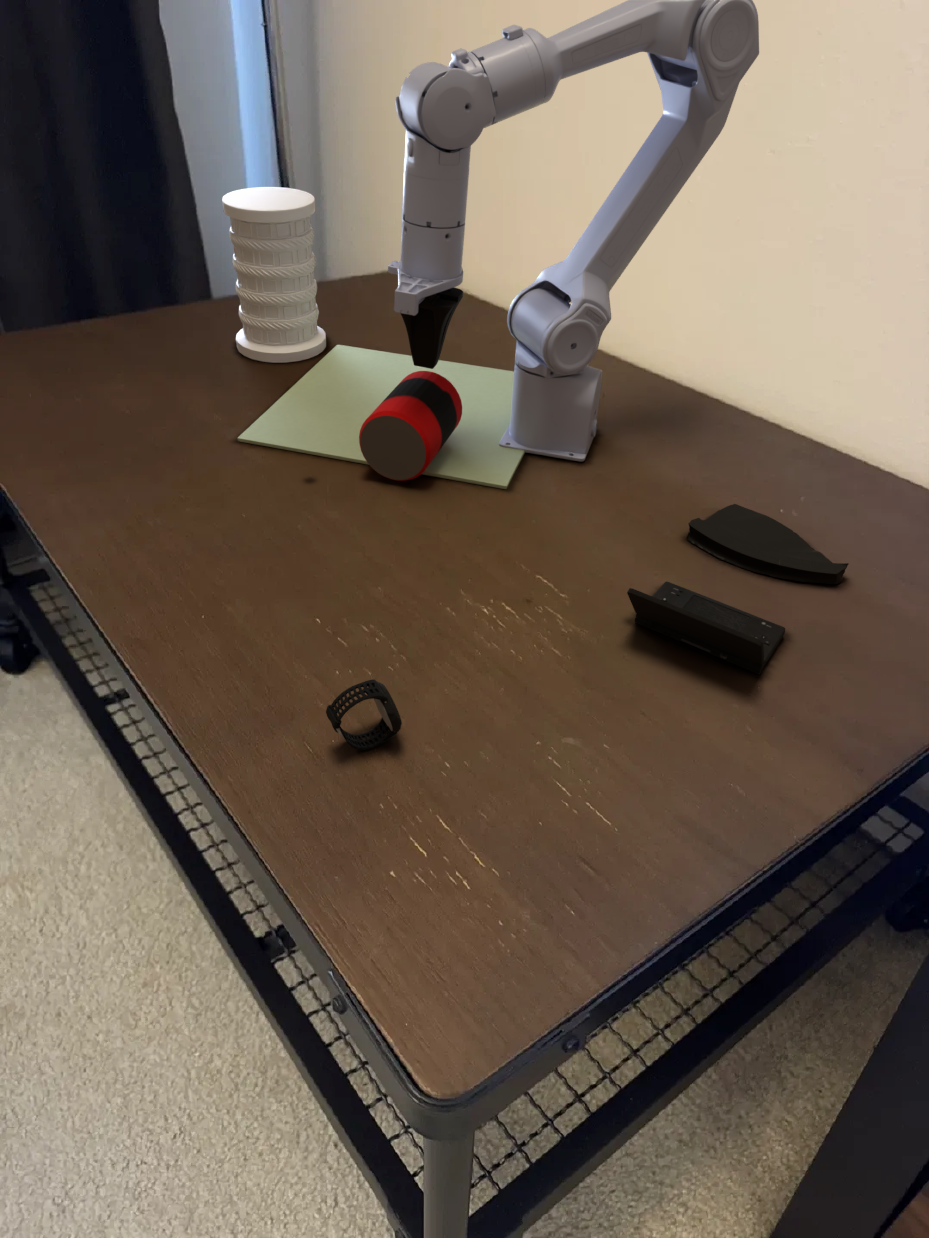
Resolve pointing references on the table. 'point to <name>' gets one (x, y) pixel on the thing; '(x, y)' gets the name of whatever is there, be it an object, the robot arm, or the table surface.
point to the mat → (360, 381)
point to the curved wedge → (762, 546)
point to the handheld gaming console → (708, 625)
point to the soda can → (410, 425)
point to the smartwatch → (384, 706)
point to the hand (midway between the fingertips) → (425, 365)
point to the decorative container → (275, 273)
